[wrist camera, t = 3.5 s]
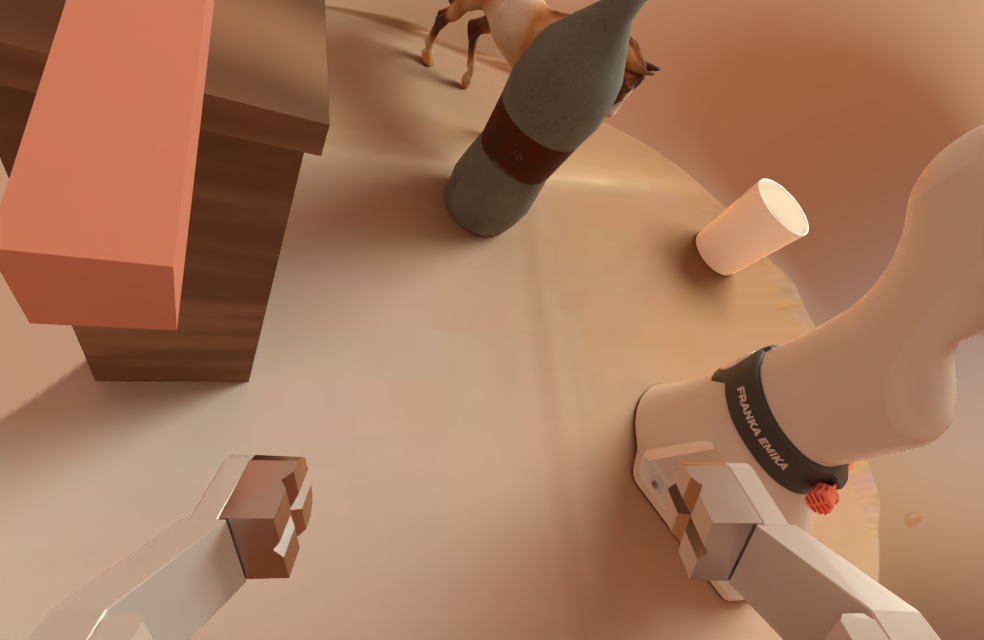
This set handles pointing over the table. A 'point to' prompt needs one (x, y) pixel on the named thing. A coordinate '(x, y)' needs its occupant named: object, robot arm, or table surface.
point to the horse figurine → (522, 36)
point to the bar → (109, 166)
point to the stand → (207, 177)
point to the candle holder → (751, 228)
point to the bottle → (542, 115)
